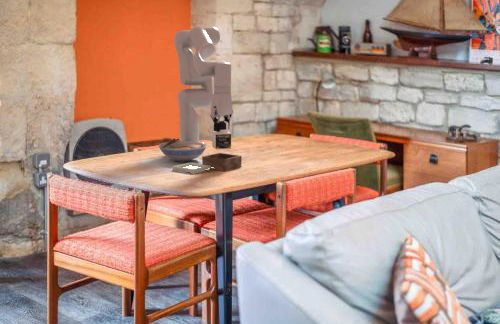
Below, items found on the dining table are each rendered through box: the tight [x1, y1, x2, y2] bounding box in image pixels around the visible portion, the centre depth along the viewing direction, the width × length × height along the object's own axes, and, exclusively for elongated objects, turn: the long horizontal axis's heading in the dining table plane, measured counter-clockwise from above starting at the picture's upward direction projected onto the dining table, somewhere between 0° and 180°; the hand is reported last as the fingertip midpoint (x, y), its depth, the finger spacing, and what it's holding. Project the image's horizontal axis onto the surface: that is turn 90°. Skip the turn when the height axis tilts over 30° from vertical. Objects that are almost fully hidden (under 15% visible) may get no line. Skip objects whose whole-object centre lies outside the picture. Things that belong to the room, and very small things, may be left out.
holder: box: [201, 152, 243, 172], centre depth 343 cm, size 13×13×5 cm
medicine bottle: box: [211, 120, 232, 150], centre depth 342 cm, size 7×7×12 cm
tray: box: [171, 162, 211, 175], centre depth 336 cm, size 12×12×2 cm
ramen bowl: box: [158, 138, 208, 162], centre depth 358 cm, size 25×23×8 cm
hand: (221, 129), depth 341 cm, fingers closed on medicine bottle, 6 cm apart
